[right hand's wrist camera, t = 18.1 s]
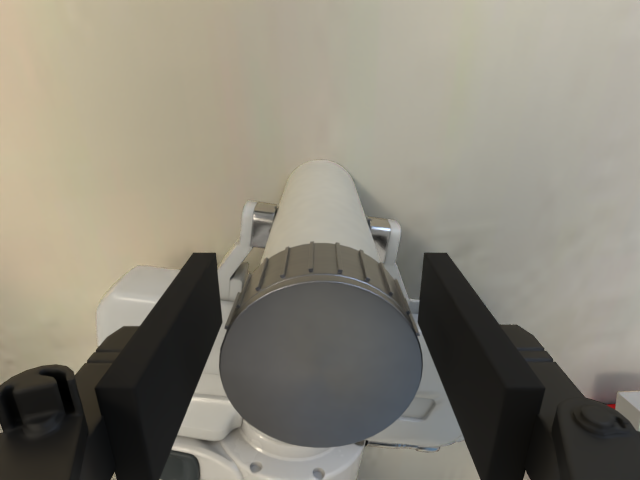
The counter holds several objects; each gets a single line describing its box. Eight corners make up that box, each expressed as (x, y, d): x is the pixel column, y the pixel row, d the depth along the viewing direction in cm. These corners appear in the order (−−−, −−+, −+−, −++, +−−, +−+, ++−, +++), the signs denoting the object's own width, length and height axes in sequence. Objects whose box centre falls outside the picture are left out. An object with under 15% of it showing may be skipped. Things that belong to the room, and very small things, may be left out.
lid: (276, 208, 11) (266, 241, 9) (440, 283, 12) (468, 330, 10) (209, 352, 13) (186, 409, 11) (357, 409, 14) (364, 473, 11)
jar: (368, 178, 25) (439, 319, 10) (336, 240, 27) (357, 441, 12) (302, 146, 25) (276, 249, 10) (273, 211, 26) (210, 387, 11)
